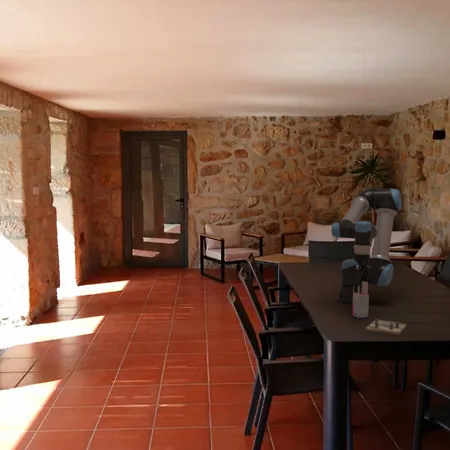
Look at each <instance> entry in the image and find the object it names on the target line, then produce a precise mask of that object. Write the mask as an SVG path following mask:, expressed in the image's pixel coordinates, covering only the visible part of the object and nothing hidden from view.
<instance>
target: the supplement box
mask: <svg viewBox="0 0 450 450" xmlns="http://www.w3.org/2000/svg"><path fill="white" fill-rule="evenodd" d="M369 300H370V295H369V294H368V295H367V294H364V293H359V300H355V299H353V304H352V310H351V317H353V318H356V319H357V320H361V319H368V318H369V304H370V303H369Z"/></svg>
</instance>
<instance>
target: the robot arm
mask: <svg viewBox="0 0 450 450" xmlns="http://www.w3.org/2000/svg"><path fill="white" fill-rule="evenodd" d="M402 205H403V204H402V194H401V192H400V190H399V189H397V188H396V189H395V188H375V187H374V188H373V187H372V188H371V187H370V188H368V189H364V190H362V191H361V192H359V193H358V194H356V196H354V197H353V199H352V201H351V205H350V207H349V208H348V210H347V212H346V213H345V215H344V216H343V218H342V219H341V220H340V222H334V223H332V225H331V231H330V232H331V236H332V237H333V238H339V239H352V240H353V239H354V245H353V249H354V251H353V252H354V253H353V258H351V259H350V258H349V259H345V260H343V261H341V273H340V274H341V277H340V278H341V280H340V283H341V284H340V285H341V286H340V288H339V291H338V294H337V301H338V302H339V303H342V304H348V305H353V299H355V300H359V293H364V294H367V295H369V294H368V292H369V291H368V290H369V285H372V286H373V285H374V286H379V287H380V286H384V287H386V286H388V285H389V284H390V283H391V281H392V279H393V275H394V265H393V264H392V261H391V259H389V257H390V249H391V241H392V233H393V226H394V220H395V219H394V218H395V216H397V215H398V212H399V211H401V210H402ZM369 210H375V213H376V214H377V218H376V222H375V224H376V225H374V224H373V223H371V222H370V221H360V219H361V217H362V216H363V214H364V213H365V212H367V211H369ZM372 240H373V245H372V246H373V247H372V253H371V243H372V242H371V241H372ZM371 254H372V255H371Z"/></svg>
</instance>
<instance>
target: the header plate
mask: <svg viewBox="0 0 450 450" xmlns="http://www.w3.org/2000/svg"><path fill="white" fill-rule="evenodd" d="M407 326H408V324H407V323H404V322H403V323H401V322H399V321H395V322H394V321H387V320H381V319H379V318H374V321H372V323H370V324H369V325H367V326H366V328H365V330H366V331H370V332H377V333H385V334H390V335H397V336H398V335H400V334H401V333H402V331H404V329H406V327H407Z"/></svg>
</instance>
